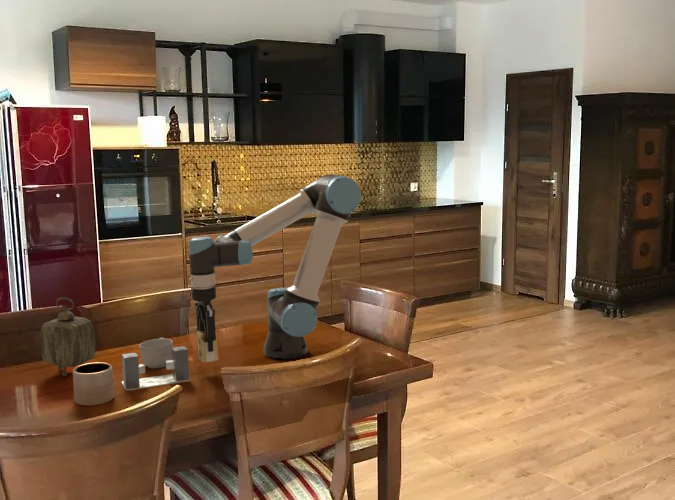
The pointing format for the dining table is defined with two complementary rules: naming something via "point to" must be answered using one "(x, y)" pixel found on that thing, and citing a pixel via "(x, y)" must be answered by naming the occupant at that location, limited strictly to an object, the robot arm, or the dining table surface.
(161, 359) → the teacup
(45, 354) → the weathered metal cowbell
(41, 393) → the dining table surface
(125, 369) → the stand
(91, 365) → the planter
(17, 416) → the dining table surface
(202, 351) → the block
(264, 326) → the dining table surface
